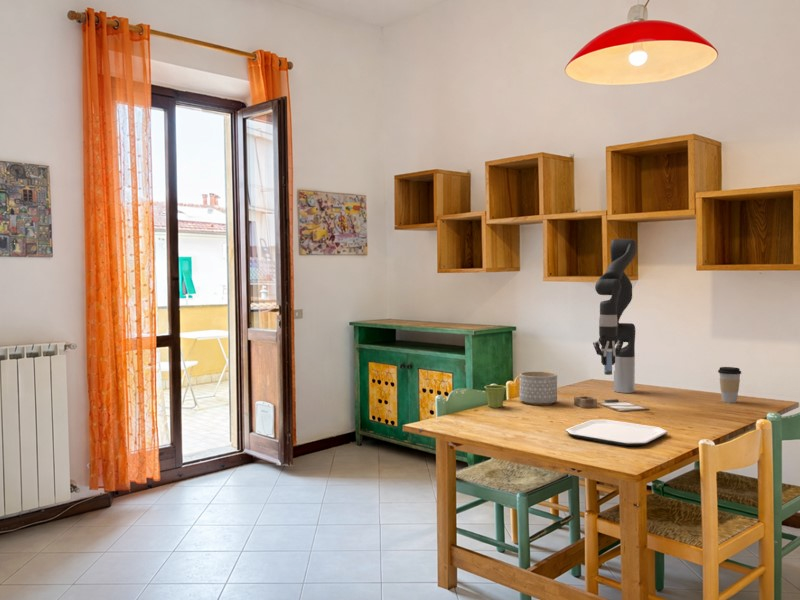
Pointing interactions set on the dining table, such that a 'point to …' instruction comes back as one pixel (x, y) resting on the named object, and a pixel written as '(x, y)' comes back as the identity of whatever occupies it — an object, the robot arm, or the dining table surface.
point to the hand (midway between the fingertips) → (608, 364)
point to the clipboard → (621, 405)
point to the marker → (608, 362)
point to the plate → (616, 432)
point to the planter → (538, 388)
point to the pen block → (585, 401)
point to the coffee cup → (729, 383)
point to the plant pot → (495, 395)
